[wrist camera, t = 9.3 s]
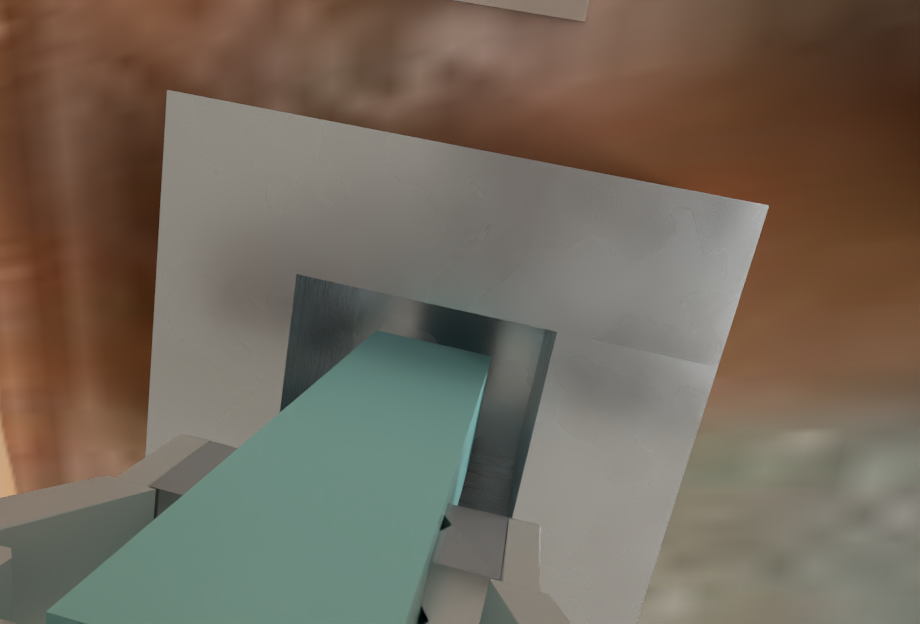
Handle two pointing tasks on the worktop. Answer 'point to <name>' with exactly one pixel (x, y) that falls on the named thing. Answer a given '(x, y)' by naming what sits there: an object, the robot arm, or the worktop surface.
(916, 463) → the worktop surface
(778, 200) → the worktop surface
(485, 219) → the port
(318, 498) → the plug
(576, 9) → the white square-hole block
